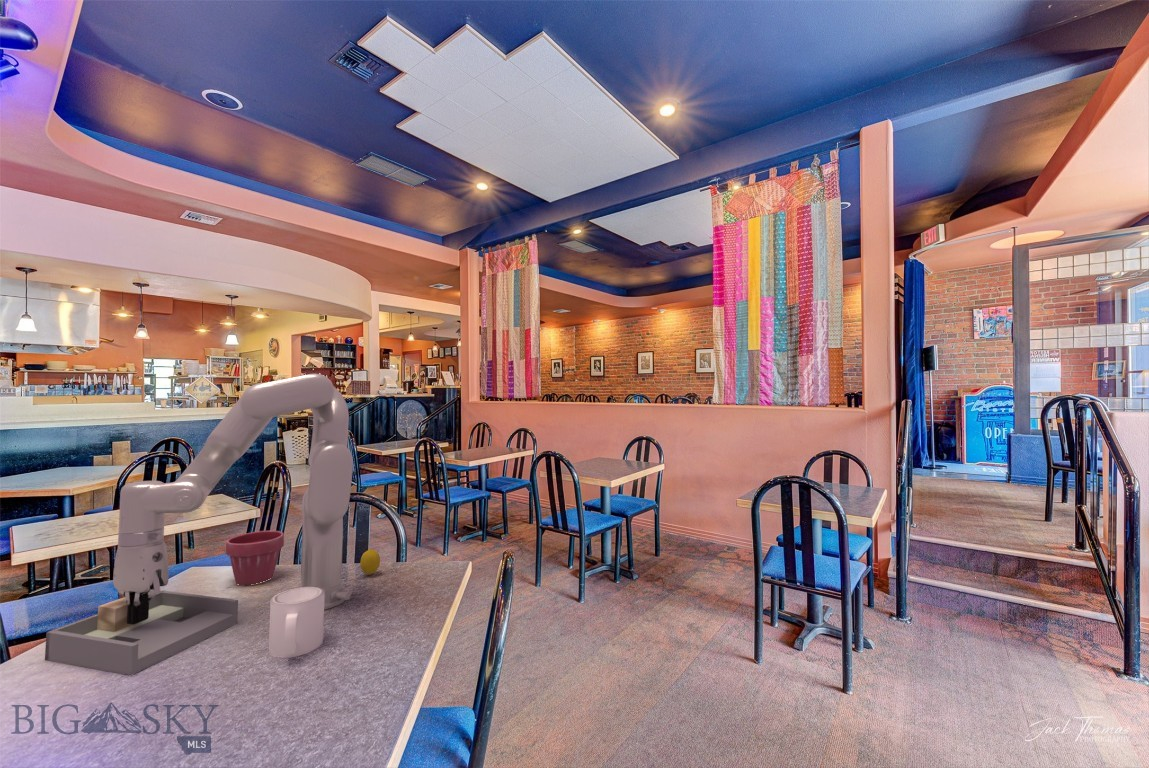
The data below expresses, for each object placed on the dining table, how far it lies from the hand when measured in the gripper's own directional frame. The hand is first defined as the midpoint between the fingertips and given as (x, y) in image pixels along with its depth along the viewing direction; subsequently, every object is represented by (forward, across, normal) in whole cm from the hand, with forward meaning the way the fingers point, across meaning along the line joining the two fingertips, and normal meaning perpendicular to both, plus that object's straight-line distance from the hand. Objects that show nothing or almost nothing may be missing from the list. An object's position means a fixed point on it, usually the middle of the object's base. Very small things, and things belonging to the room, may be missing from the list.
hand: (137, 621), depth 104 cm
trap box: (+4, -4, 0) cm, 5 cm away
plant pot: (+4, +5, -34) cm, 35 cm away
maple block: (+1, +5, 0) cm, 5 cm away
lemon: (+4, -25, -46) cm, 53 cm away
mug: (+4, -37, -5) cm, 37 cm away
